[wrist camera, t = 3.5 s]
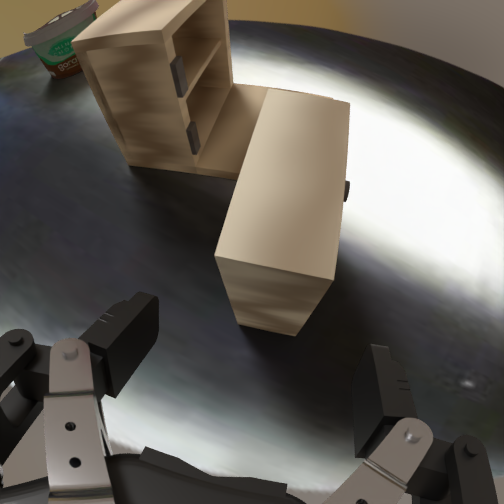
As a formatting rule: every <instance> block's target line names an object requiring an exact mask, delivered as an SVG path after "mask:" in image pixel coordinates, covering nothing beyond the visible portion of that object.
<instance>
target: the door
mask: <svg viewBox="0 0 504 504" xmlns="http://www.w3.org/2000/svg"><path fill="white" fill-rule="evenodd" d="M349 115H350V103H348V102H343V101H339V100H334V99H329V98H324V97H319V96H314V95H308V94H302V93H296V92H290V91H284V90H277V89H269V88H268V91H267V94H266V97H265V100H264V103H263V106H262V108H261V111H260V114H259V117H258V120H257V123H256V126H255V129H254V132H253V135H252V138H251V141H250V144H249V147H248V150H247V153H246V156H245V159H244V162H243V165H242V168H241V171H240V175H239V178H238V181H237V184H236V187H235V190H234V193H233V196H232V200H231V203H230V206H229V209H228V212H227V216H226V219H225V222H224V225H223V229H222V232H221V235H220V238H219V242H218V245H217V248H216V252H215V255H214V256H215V259H216V262H217V265H218V268H219V271H220V274H221V277H222V280H223V282H224V285H225V288H226V291H227V294H228V297H229V300H230V303H231V306H232V308H233V311H234V314H235V317H236V320H237V323H238V324H240V325H244V326H248V327H253V328H257V329H262V330H267V331H271V332H276V333H281V334H286V335H291V336H296V335H297V334H298V332H299V331H300V329H301V328H302V326H303V325H304V324H305V322H306V321H307V319H308V318H309V316H310V315H311V313H312V312H313V310H314V309H315V308H316V306H317V305H318V303H319V302H320V300H321V299H322V297H323V296H324V294H325V293H326V291H327V290H328V288H329V287H330V285H331V284H332V282H333V280H334V275H335V268H336V261H337V253H338V245H339V237H340V229H341V220H342V210H343V202H346V200H347V198H348V193H349V188H350V182H349V181H345V178H346V166H347V152H348V135H349Z"/></svg>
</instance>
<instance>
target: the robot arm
mask: <svg viewBox="0 0 504 504" xmlns="http://www.w3.org/2000/svg"><path fill="white" fill-rule="evenodd" d="M158 332H159V300H158V297H157V296H154V295H150V294H147V293H143V292H137V293H136V294H135V295H134V296H133V297H132V298H131V299H130V300H129V301H126V300H123V301H121V302H119V303H117V304H114V305H113V306H112V307H111V308H110V309H108V310H107V311H106V313H105V314H103V315H102V316H101V317H100V319H98V320H97V321H96V322H95V323H94V324H93V325H92V326H91V327H90V328H89V329H88V330H87V331H85V332H84V333H83V334H82V335H81V336H80V337H79V338H78V339H76V338H67V339H63V340H60V341H58V342H57V343H55V344H54V345H53V347H51V346H45V345H39V344H35V343H34V339H33V336H32V334H31V333H30V332H29V331H27V330H24V329H14V330H11V331H8V332H6V333H5V334H4V335H3V336H1V337H0V396H1V394H2V393H3V391H4V390H5V389H6V388H7V387H8V386H9V385H10V384H11V382H12V381H14V383H15V386H14V387H13V388H12V389H11V390H10V392H9V393H8V394H7V395H6V396H5V397H4V398H3V400H2V401H1V402H0V504H306V503H305V502H303V501H302V500H300V499H298V498H297V497H295V496H293V495H290V494H288V493H286V490H287V484H286V483H279V482H273V481H268V480H262V479H257V478H252V477H216V476H211V475H208V474H206V473H205V472H203V471H201V470H199V469H197V468H195V467H193V466H192V465H190V464H188V463H186V462H185V461H183V460H181V459H179V458H177V457H174V456H171V455H168V454H165V453H162V452H159V451H157V450H154V449H151V448H149V447H146V446H145V448H144V450H143V452H142V454H130V453H129V454H128V453H127V454H116V455H113V453H112V450H111V446H110V442H109V438H108V433H107V429H106V424H105V418H104V413H103V408H102V403H101V399H102V398H103V396H104V395H105V394H106V395H108V396H111V397H113V398H116V397H117V396H118V394H119V393H120V391H121V390H122V389H123V387H124V386H125V384H126V383H127V381H128V380H129V379H130V377H131V376H132V374H133V373H134V372H135V370H136V369H137V367H138V366H139V365H140V363H141V362H142V360H143V359H144V358H145V356H146V355H147V354H148V352H149V351H150V349H151V348H152V347H153V345H154V344H155V342H156V340H157V337H158ZM351 393H352V407H353V423H354V444H355V458H365V459H366V460H365V461H364V462H363V463H362V464H361V465H360V466H359V467H358V469H357V470H356V471H355V472H354V473H353V474H352V475H351V476H350V477H349V478H348V479H347V480H346V481H345V482H344V483H343V484H342V485H341V486H340V487H339V488H338V489H337V490H336V491H335V492H334V493H333V494H332V495H331V496H330V497H329V498H328V499H327V500H326V501H325V502H324V503H323V504H397V502H398V501H399V499H400V498H401V497H402V495H403V494H404V493H408V494H411V495H412V504H498V500H497V495H496V490H495V485H494V481H493V477H492V472H491V468H490V464H489V460H488V457H487V453H486V449H485V447H484V445H483V444H482V442H481V441H480V440H478V439H477V438H475V437H473V436H470V435H462V436H460V437H458V438H457V439H456V440H455V442H454V443H449V442H446V441H442V440H439V439H436V438H434V437H433V434H432V431H431V429H430V428H429V427H428V425H426V424H425V423H424V422H423V421H421V420H419V419H418V418H417V413H416V409H415V406H414V402H413V398H412V394H411V391H410V387H409V383H408V380H407V376H406V373H405V370H404V369H403V368H402V366H401V365H400V364H399V363H398V361H392V359H391V355H390V351H389V348H388V347H386V346H380V345H374V344H368V345H367V347H366V349H365V351H364V353H363V355H362V358H361V360H360V362H359V365H358V367H357V369H356V371H355V373H354V376H353V380H352V385H351ZM43 409H44V432H45V449H46V461H47V470H48V476H47V477H43V478H40V479H36V480H33V481H29V482H25V483H22V484H18V485H14V486H10V487H6V488H3V481H2V479H3V468H2V465H3V464H4V463H5V461H6V460H7V458H8V457H9V455H10V454H11V452H12V451H13V450H14V448H15V447H16V445H17V444H18V443H19V441H20V440H21V438H22V437H23V436H24V434H25V433H26V431H27V430H28V429H29V427H30V426H31V425H32V423H33V422H34V420H35V419H36V418H37V416H38V415H39V414H40V413H41V411H42V410H43Z"/></svg>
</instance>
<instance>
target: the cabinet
mask: <svg viewBox="0 0 504 504" xmlns="http://www.w3.org/2000/svg"><path fill="white" fill-rule="evenodd" d="M227 13H228V12H227V0H121V1H120V2H118V3H117V4H115V5H114V6H113V7H112V8H110V9H109V10H108V11H107V12H105V13H104V14H103V15H101V16H100V17H99V18H98V19H96V20H95V21H94V22H93V23H92V24H90V25H89V26H88V27H87V28H86V29H85V30H83V31H82V32H81V33H80V34H79V35H78V36H77V37H76V38H74V39H73V40H72V41H71V44H72V47H73V49H74V51H75V54H76V56H77V58H78V61H79V63H80V65H81V68H82V70H83V72H84V74H85V77H86V79H87V81H88V83H89V85H90V88H91V90H92V92H93V94H94V96H95V98H96V101H97V103H98V105H99V107H100V109H101V111H102V113H103V115H104V117H105V119H106V122H107V124H108V126H109V128H110V130H111V132H112V134H113V136H114V138H115V140H116V142H117V144H118V146H119V148H120V150H121V152H122V154H123V156H124V158H125V160H126V161H127V163H128V165H130V166H139V167H147V168H156V169H164V170H172V171H179V172H186V173H193V174H200V175H207V176H214V177H220V178H226V179H233V180H238V178H239V175H240V171H241V168H242V165H243V162H244V159H245V156H246V153H247V150H248V147H249V144H250V141H251V138H252V135H253V132H254V129H255V126H256V123H257V120H258V117H259V114H260V111H261V108H262V106H263V103H264V100H265V97H266V94H267V91H268V88H269V89H277V90H284V91H290V92H296V93H302V94H308V95H314V96H319V97H324V98H329V99H333V98H330V97H325V96H320V95H315V94H309V93H304V92H298V91H291V90H285V89H278V88H271V87H263V86H255V85H245V84H235V83H233V73H232V61H231V49H230V37H229V25H228V14H227Z"/></svg>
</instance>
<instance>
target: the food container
mask: <svg viewBox="0 0 504 504" xmlns="http://www.w3.org/2000/svg"><path fill="white" fill-rule="evenodd" d="M98 6H99V5H98V3H97V2H96V0H89V1H88V2H87V3H85V4H83V5H81V6H79V7H77V8H75V9H73V10H70V11H67V12H64V13H62V14H60V15H58V16H56V17H55V18H53V19H52V20H50V21H49V22H48V23H46V24H45V25H44V26H42V27H41V28H39V29H37V30H36V31H34V32H32V33H29V34H25V33H24V35H25V36H24V42H25V45H26V46H32V48H33V49H34V51H35V52H36V54H37V55H38V57H39V58H40V60H41V61H42V63H43V64H44V66H45V67H46V69H47V70H48V71H49V73H50V74H51V76H52V77H53V78H55V79H63V78H66V77H69V76H72V75H74V74H77V73H79V72H81V71H82V68H81V65H80V63H79V61H78V58H77V56H76V54H75V51H74V49H73V47H72V44H71V41H72V40H73V39H74V38H76V37H77V36H78V35H79V34H80V33H81V32H82V31H83V30H85V29H86V28H87V27H88V26H89V25H90V24H92V23H93V22H94V21H95V20H96V19H97V17H96V12H95V11H96V10H97V8H98Z"/></svg>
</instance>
